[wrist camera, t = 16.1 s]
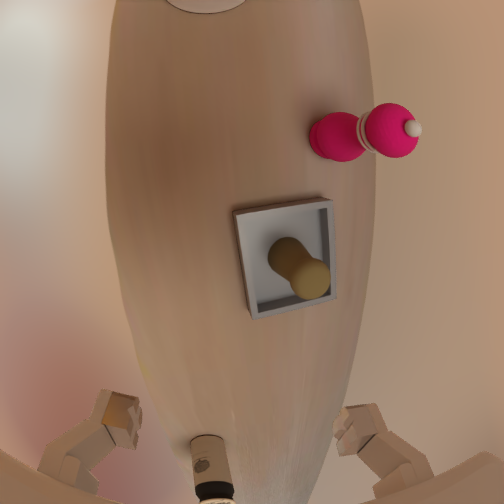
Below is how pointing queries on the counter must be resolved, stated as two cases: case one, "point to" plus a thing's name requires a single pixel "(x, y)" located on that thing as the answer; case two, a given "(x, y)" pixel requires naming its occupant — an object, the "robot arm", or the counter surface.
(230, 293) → the counter surface
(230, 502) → the travel mug
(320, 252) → the tray
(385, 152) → the pepper mill
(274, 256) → the brown pawn
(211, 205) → the counter surface
